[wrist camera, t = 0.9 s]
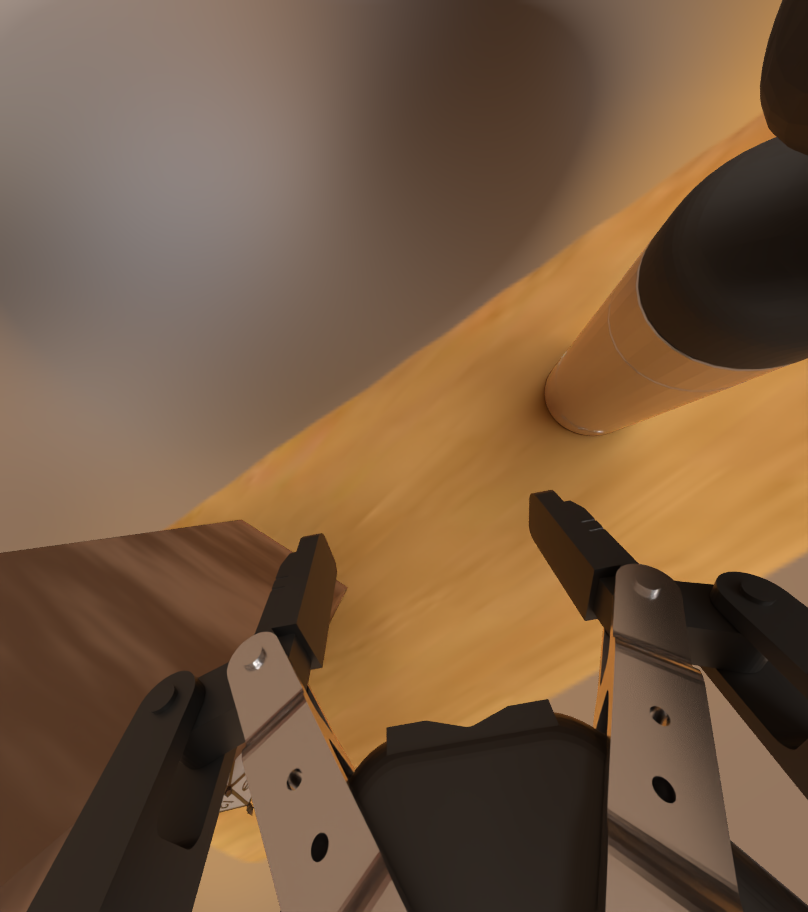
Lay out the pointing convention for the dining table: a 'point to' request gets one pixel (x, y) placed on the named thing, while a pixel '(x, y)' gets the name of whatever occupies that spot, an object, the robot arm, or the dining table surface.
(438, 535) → the dining table surface
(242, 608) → the walnut pedestal
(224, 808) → the game die
